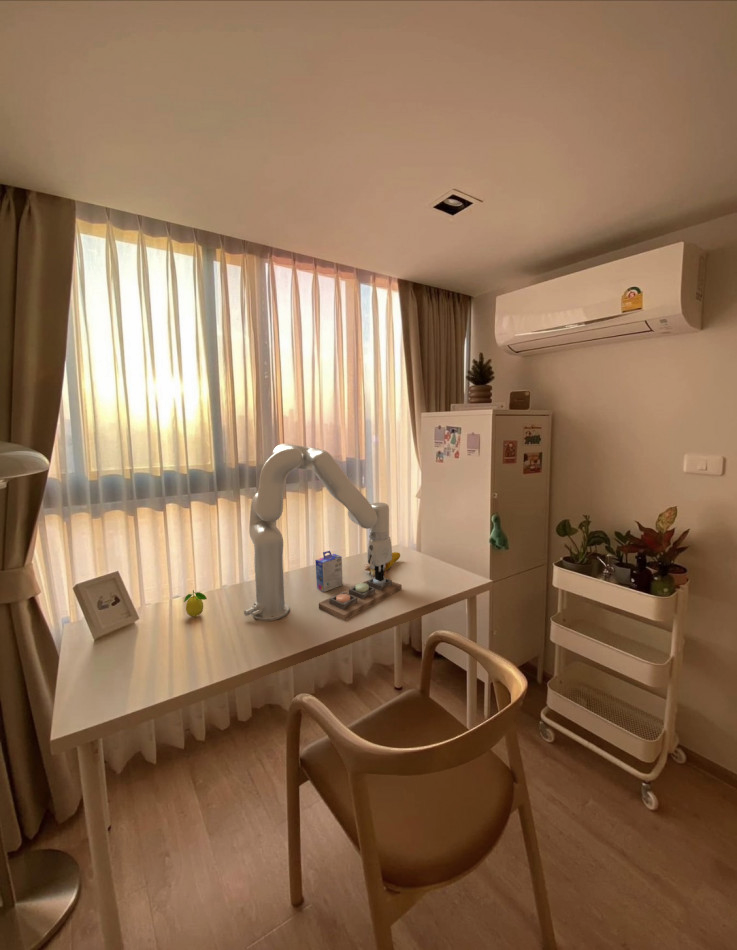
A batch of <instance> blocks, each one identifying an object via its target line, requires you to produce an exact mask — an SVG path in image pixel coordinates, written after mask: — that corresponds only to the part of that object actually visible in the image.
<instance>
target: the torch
mask: <svg viewBox="0 0 737 950" xmlns="http://www.w3.org/2000/svg"><path fill="white" fill-rule="evenodd" d="M400 558H401V554H400V552H397V551H395V552H392V560H391V561H389V562H388V563H387V564H386V565H385V570H384V572H387V571H388V570H389V569H390V568H391V567H392V566H393V565H394V564H395V563H396V562H397V561H398V560H399V559H400ZM369 566H370V564H369V563H368V562H367V563H365V564H364V565H363V568H364V571H367V572H368V575H371V578H374V577H375V570H374V569H370V568H369Z"/></svg>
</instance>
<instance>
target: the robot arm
mask: <svg viewBox="0 0 737 950" xmlns="http://www.w3.org/2000/svg"><path fill="white" fill-rule="evenodd" d="M296 469H297V470H298V469H299V470H306V471H312V472H313V474H314V475H315V476H316V477H317V478H318V479H319V481H320V482H321V483H322V484H323V486H324V488H325V489H326V490H327V491H328V492H329V494H330V495H331V496H332V497H333V498H334V499H335V500H337V501H338V502H339V503H340V504H342V505H343V506H344V507H345V508H346V509H347V510H348V511H347V516H348V518H349V520H350V521H351V522H352V523H354V524H356V525H358V526H359V527H360V528H362V529H367V530H368V529H369V536H368V538H369V539H368V545H367V564H368V563H369V564H370V566H369V568H370V569H374V570H375V579H376V580H379V581H382V580H384V578H385V571H384V570H385V565H386V564H387V563H388V562H389V561H391V560H392V553H393V548H392V547H393V546H392V539H391V536H390V507H389V504H387V503H385V502H373V503H370V502H369V501H368V499H367V498H366V497H365V495H363V493H362V492H361V491H360V490H359V489H358V488H357V487H356V485H355V484H354V483H353V482H352V481H351V480H350V478H348V476H347V475H346V473H345V472H344V470H343V469H342V468H341V467H340V466H339V464H338V463H337V461H336V460H335V458H334V457H333V456H332V455H331V454H330V453H329V452H328V451H327V450H324V449H322V448H316V447H310V446H309V447H308V446H302V445H301V446H300V445H296V444H290V443H280V444H278V445H277V446H275V448H274V449H273V451H272V454H271V456H270V457H268V459H267V460H266V461H265V463H264V464H263V466H262V468H261V470H260V475H259V480H258V490H257V492H256V493H255V494H254V496H253V497H252V500H251V503H250V513H249V526H248V527H249V533H248V534H249V537H250V540H251V542H252V544H253V547H254V548H253V549H254V557H253V559H254V564H253V565H254V574H255V576H254V577H255V578H254V579H255V594H256V595H255V597H256V601H255V602H253V606H252V607H250V608H248V609H247V608H246V609H244V610H243V614H244V616H245V617H247V616H250V615H251V616H252V617H254V619H257V620H259V621H265V622H270V621H276V620H278V619H279V620H280V619H281V618H284V617H285V616H286V615H288V614H289V612H290V605H289V604H288V603H286V602H285V585H284V583H285V582H284V580H285V579H284V558H283V556H284V555H283V554H284V537H283V535H282V533H281V531H280V529H279V528H278V527H277V521H278V520H279V519H281V517H282V515H283V513H284V511H283V510H284V497H285V496H284V495H285V487H286V486H285V485H286V480H287V477H288V476H289V475H290V473H292V472H293V471H295V470H296Z"/></svg>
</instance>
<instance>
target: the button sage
mask: <svg viewBox="0 0 737 950" xmlns="http://www.w3.org/2000/svg"><path fill="white" fill-rule="evenodd" d="M355 589H356V591H357V592H359V593H362V594H363V593H365V592H367V591H369V585H368V584H365V583H363V582H361V583H357V584H355Z"/></svg>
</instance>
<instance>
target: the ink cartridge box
mask: <svg viewBox="0 0 737 950" xmlns="http://www.w3.org/2000/svg"><path fill="white" fill-rule="evenodd" d="M326 554H327V555H326ZM322 555H323V557H321V558H318V559H315V560H314V561H315V577H316V578H315V579H316V589H317V590H319V591H320V592H322V593H326V592H328V591H330V590H333V589H335V588H338V587H341V586H343V583H344V582H343V559H342V558H343V557H342V556H341V555H338V554H336V553H333V554H332V553H331V550H327V551H322Z"/></svg>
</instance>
